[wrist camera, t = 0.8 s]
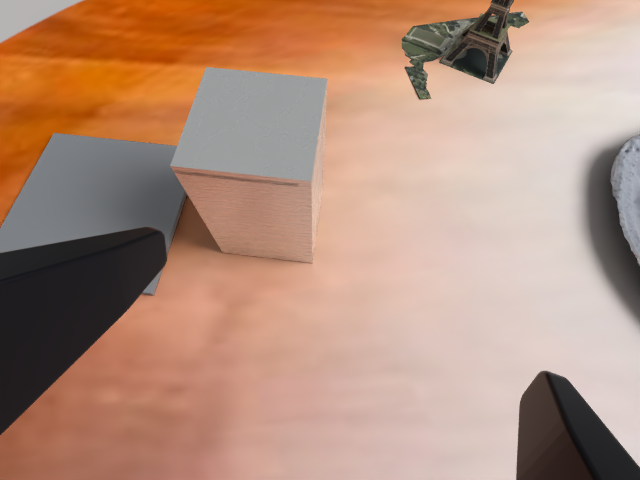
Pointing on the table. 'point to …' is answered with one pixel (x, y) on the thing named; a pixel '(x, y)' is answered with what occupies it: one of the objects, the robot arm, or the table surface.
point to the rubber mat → (95, 193)
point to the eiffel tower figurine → (463, 44)
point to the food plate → (628, 191)
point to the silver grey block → (256, 161)
